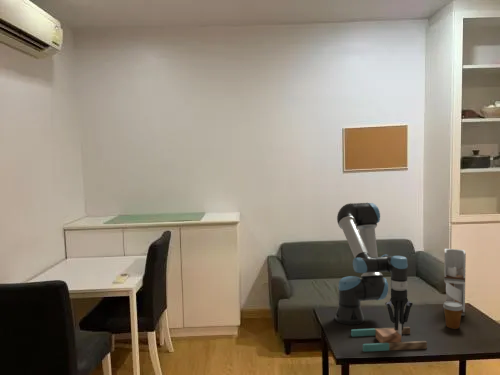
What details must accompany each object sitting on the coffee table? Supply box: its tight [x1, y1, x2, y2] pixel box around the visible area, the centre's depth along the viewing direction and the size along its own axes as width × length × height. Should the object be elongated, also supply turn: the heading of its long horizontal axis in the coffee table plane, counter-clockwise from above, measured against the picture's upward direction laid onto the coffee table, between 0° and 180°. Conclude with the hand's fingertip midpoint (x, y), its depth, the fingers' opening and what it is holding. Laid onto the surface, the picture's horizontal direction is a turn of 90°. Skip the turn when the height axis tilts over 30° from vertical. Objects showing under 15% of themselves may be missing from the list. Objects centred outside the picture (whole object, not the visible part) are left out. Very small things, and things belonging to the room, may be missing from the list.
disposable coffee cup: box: [442, 301, 463, 330], centre depth 231 cm, size 10×10×12 cm
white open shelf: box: [443, 248, 467, 316], centre depth 253 cm, size 11×11×35 cm
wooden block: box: [375, 329, 402, 343], centre depth 214 cm, size 9×9×4 cm
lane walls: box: [374, 326, 428, 351], centre depth 214 cm, size 18×19×3 cm
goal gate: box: [350, 327, 390, 353], centre depth 213 cm, size 12×19×3 cm, turn 5°
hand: (398, 336), depth 214 cm, fingers closed
